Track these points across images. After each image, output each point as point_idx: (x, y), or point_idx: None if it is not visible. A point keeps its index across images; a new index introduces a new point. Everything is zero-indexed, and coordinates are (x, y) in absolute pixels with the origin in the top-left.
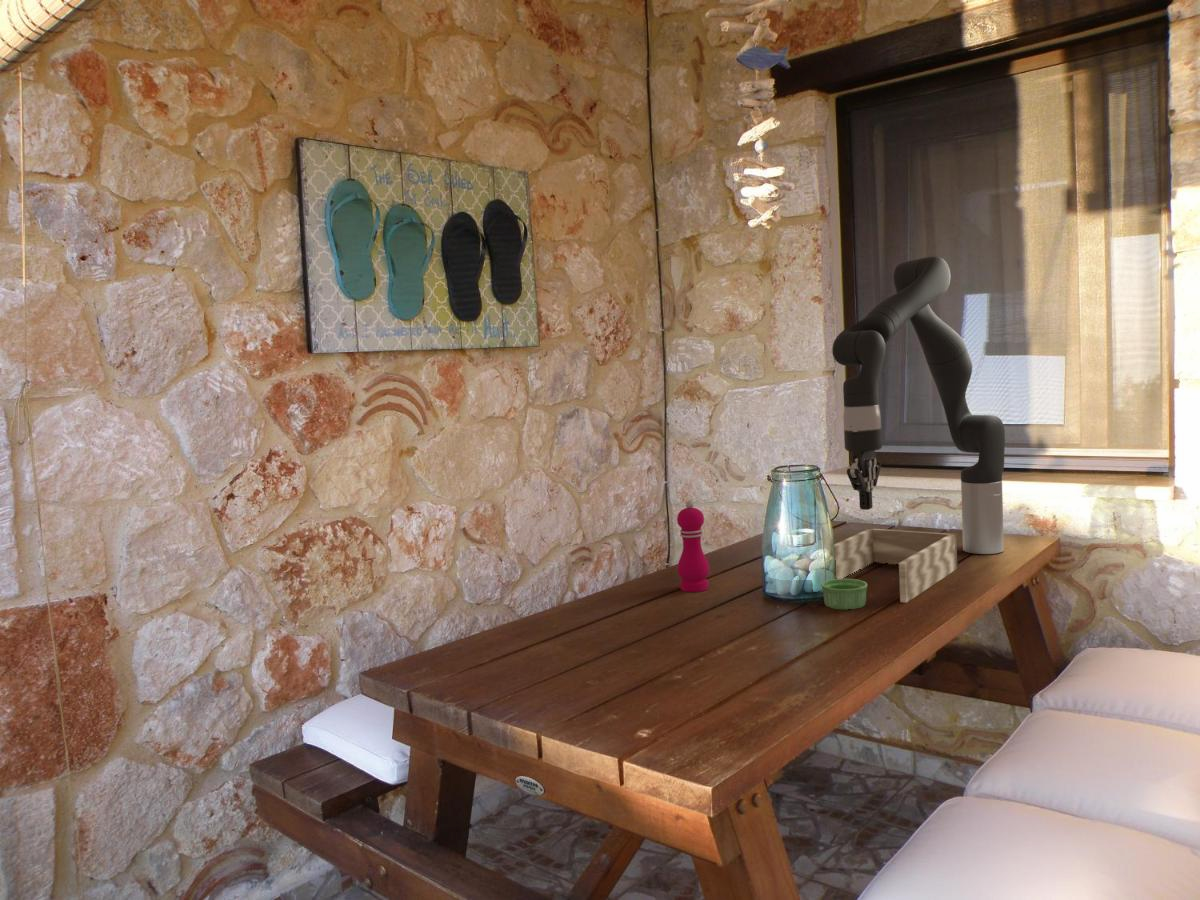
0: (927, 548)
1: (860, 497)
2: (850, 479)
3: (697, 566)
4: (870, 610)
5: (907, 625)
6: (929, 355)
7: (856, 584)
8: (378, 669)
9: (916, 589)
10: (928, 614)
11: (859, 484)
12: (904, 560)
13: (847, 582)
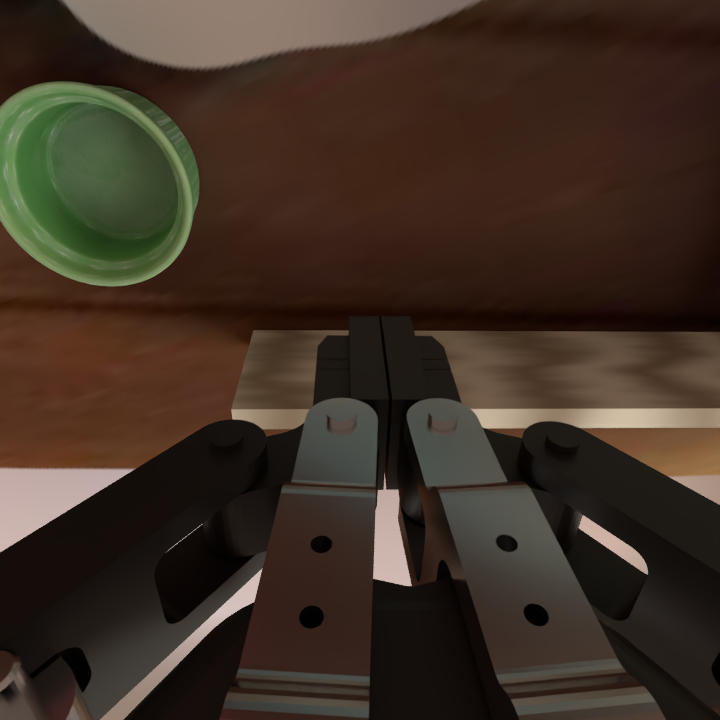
0: (538, 416)
1: (314, 392)
2: (9, 561)
3: None
4: None
5: (42, 418)
6: None
7: (180, 211)
8: None
9: None
10: (174, 429)
11: (228, 523)
12: (287, 411)
13: (175, 169)
